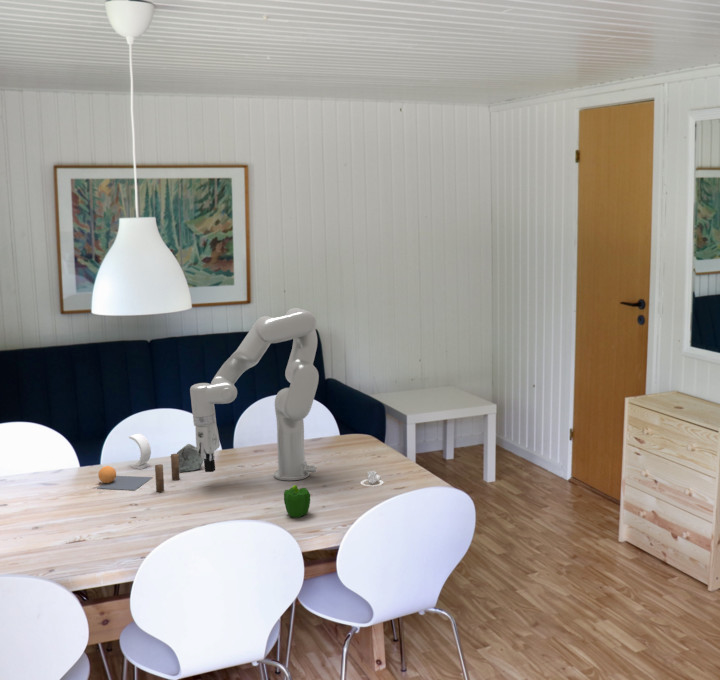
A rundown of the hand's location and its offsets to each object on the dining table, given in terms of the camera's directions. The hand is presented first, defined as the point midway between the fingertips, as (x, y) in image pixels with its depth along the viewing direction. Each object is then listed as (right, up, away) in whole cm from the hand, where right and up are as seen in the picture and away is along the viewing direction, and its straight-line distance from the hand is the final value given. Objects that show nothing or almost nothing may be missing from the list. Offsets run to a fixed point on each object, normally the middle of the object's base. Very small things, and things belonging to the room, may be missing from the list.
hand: (210, 471), depth 280 cm
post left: (-16, -6, -4) cm, 18 cm away
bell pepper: (+32, -9, -28) cm, 44 cm away
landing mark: (-31, -5, +6) cm, 32 cm away
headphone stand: (-30, -3, +25) cm, 39 cm away
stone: (-12, -3, +21) cm, 24 cm away
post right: (-14, -4, +9) cm, 17 cm away
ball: (-37, -2, +6) cm, 38 cm away
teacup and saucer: (+59, -5, +2) cm, 59 cm away
